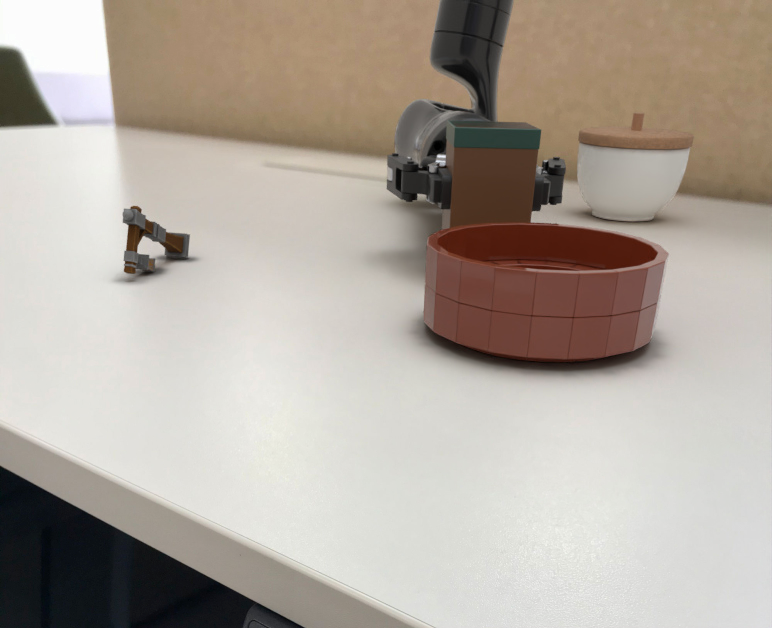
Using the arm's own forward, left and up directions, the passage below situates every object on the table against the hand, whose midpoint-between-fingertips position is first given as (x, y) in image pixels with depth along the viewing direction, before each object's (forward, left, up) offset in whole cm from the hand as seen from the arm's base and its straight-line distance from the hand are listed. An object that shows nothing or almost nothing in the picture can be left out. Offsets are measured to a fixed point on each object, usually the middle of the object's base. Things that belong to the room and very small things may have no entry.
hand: (492, 193), depth 55 cm
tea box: (-2, -2, -6) cm, 7 cm away
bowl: (+7, +8, -6) cm, 13 cm away
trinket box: (-33, -6, -6) cm, 34 cm away
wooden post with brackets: (+13, -20, -6) cm, 24 cm away
